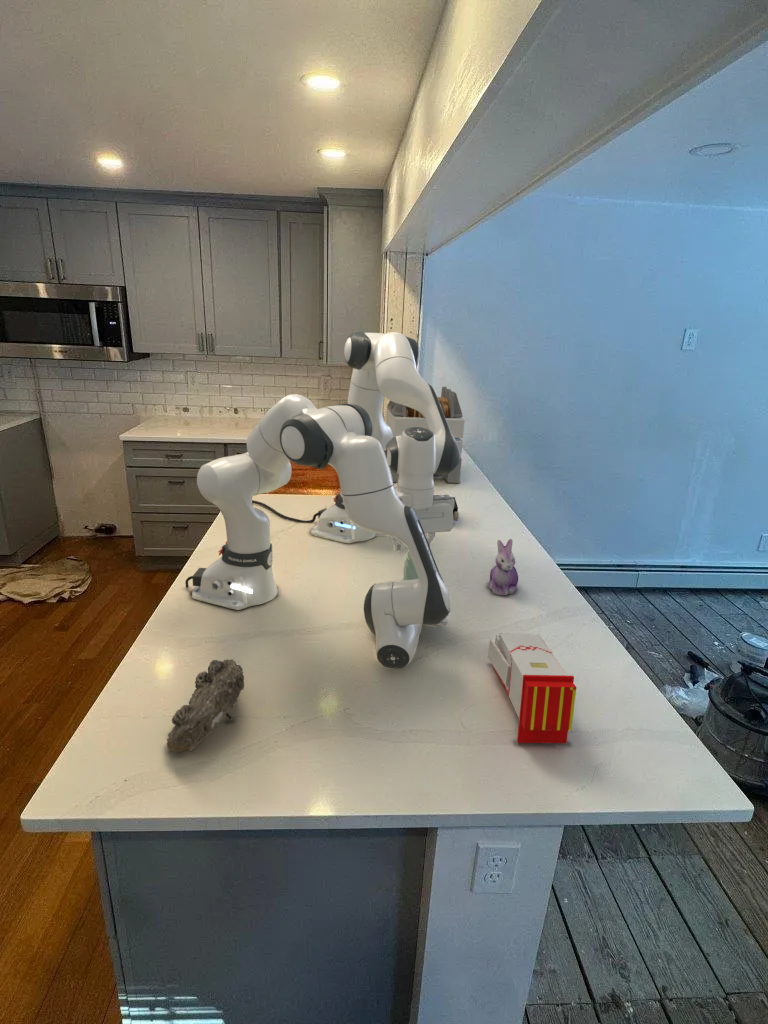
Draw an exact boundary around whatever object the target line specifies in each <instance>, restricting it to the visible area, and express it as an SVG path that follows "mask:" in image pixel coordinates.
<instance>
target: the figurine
mask: <svg viewBox="0 0 768 1024" xmlns="http://www.w3.org/2000/svg"><path fill="white" fill-rule="evenodd" d="M496 542H497V543H496V545H497V555H496V557H495V564H496V565H494V566H493V567H492V568H491V569H490V573H489V581H488V587H489V589H490V590H491V591H492V593H493V594H495V595H499V596H507V595H509V594H513V593H514V592H515V591H516V590H517V587H518V583H519V574H518V571H517V568H516V567H515V565H516V559H515V555H514V554H513V551H512V549H513V543H514V542H513V539H512V538H509V539H508V540H507V542H506V544H505V545H504V544H503V541H502V540H501V539H498V540H497V541H496Z"/></svg>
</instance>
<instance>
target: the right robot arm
mask: <svg viewBox="0 0 768 1024" xmlns="http://www.w3.org/2000/svg"><path fill="white" fill-rule="evenodd" d="M343 353H344V360H345V363H346V364H347V366H348V367H349V368H352V373H351V378H350V383H349V389H348V395H347V396H348V397H347V404H354V405H358V406H360V407H362V408H363V409H365V410H366V411H367V413H368V414H369V416H370V418H371V421H372V426H373V431H372V436H371V437H373V438H375V439H377V440H378V441H379V442H380V443H381V445H382V448H383V450H384V451H385V450H386V458H387V461H388V464H389V467H390V470H392V471H393V472H394V473H398V474H399V479H398V482H396V486H394V488H395V491H396V493H397V495H398V497H399V499H400V500H401V501H402V502H403V504H404V505H405V506H408V507H411V508H412V509H413V510H414V511H415V513H416V515H417V517H418V519H419V521H420V523H421V526H422V528H423V531H424V533H425V534H427V536H426V538H427V541H428V544H429V546H430V547H431V543H432V541H433V540H434V539H435V537H436V533H449V532H451V531H452V530H453V529H454V524H453V523H454V520H453V509H454V503H455V501H454V499H453V497H454V496H451V495H450V494H439V495H438V494H435V493H434V492H435V480H434V475H439V476H440V475H441V476H443V475H448V474H449V473H450V472H452V471H453V470H454V469H455V468H456V467H457V465H458V464H459V460H460V452H459V447H458V444H457V442H456V440H455V438H454V437H453V435H452V433H451V431H450V429H449V426H448V424H447V421H446V418H445V416H444V413H443V411H442V408H441V405H440V403H439V400H438V398H437V397H438V395H437V393H436V391H435V389H434V387H433V386H432V385H431V384H429V382H428V383H427V382H426V380H425V379H424V378H422V376H421V374H420V373H419V371H418V368H417V366H418V365H419V360H420V346H419V343H418V342H417V340H416V339H414V338H412V337H409V336H406V335H404V334H403V333H401V332H397V331H390V332H384V333H382V332H364V331H354V332H352V333H350V335H348V337H347V338H346V341H345V343H344V349H343ZM384 398H386V399H387V400H388V401H392V402H394V403H397V404H401V405H405V406H408V407H410V408H413V409H415V410H417V411H419V412H420V413H421V414H422V415H423V416H424V417H425V419H426V422H427V425H428V428H429V430H428V429H425V428H421V427H411V428H407V429H405V430H404V431H403V433H402V435H400V436H396V437H393V434H392V431H391V429H390V427H389V426H388V425H387V423H386V420H385V419H384V416H383V403H384ZM339 489H340V490H339V491H338V492H337V494H336V495H335V496H334V497H333V502H334V504H333V505H331V506H329V507H328V508H323V509H320V510H318V511H317V512H316V513H314V514H313V516H312V519H310V520H302V519H299V518H294V517H290V516H287V515H284V514H282V513H280V512H278V511H277V510H276V509H274V508H273V507H271V506H269V505H268V504H266V503H264V502H261V501H259V500H258V501H257V500H254V499H252V504H256V505H260V506H262V507H264V508H266V509H267V510H269V511H271V512H272V513H273V514H275V515H276V516H277V517H278V516H279V517H281V518H283V519H285V520H288V521H292V522H296V523H302V524H303V523H305V524H311V523H314V522H315V521H316V519H317V518H318V521H317V523H315V524H314V525H313V526H312V528H311V530H310V533H311V536H315V537H319V538H323V539H326V540H330V541H336V542H339V543H343V544H352V543H357V542H365V541H368V540H372V539H373V538H375V537H376V536H377V537H388V536H387V535H384V534H379V533H374V532H370V531H367V530H365V529H363V528H361V527H359V526H357V525H356V524H355V523H353V522H352V521H351V519H350V518H349V517H348V515H347V512H346V510H345V506H344V502H343V498H342V493H341V488H339ZM449 498H451V499H449ZM316 517H317V518H316ZM389 538H390V539H391V541H392V543H393V546H392V547H393V548H392V549H393V551H394V552H400V551H402V543H401V541H397V539H396V538H393V537H391V536H389Z"/></svg>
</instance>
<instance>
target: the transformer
mask: <svg viewBox="0 0 768 1024" xmlns="http://www.w3.org/2000/svg"><path fill="white" fill-rule="evenodd" d="M440 393H441V394H440V396H437V398H438V400H439V403H440V405H441V408H442V411H443V413H444V416H445V418H446V421H447V424H448V426H449V429H450V431H451V433H452V435H453V437H454V438H455V440H456V442H457V444H458V447H459V452H460V460H459V464H458V465H457V467H456V468H455V469H454V470H453V471H452V472H450V473H449V474H448V475H442V476H443V478H444V479H445V481H446V482H447V483H449V484H455V483H456V484H459V483H461V472H462V461H463V460H462V453H463V442H464V441H463V440H462V439H463V438H464V431H465V430H464V429H465V419H464V418H463V411H462V408H461V405H460V402H459V398H458V395H457V392H455V391H453V390H452V389H451V388H447V386H442V387H441V392H440ZM388 401H389V402H388V404H387V405H386V413H385V414H386V415H385V423H386V424H387V425H388V426H389V427H390V429H391V431H392V434H393V437H396V436H400V435H402V433H403V431H404V430H405V429H407V428H411V427H421V428H425V429H428V430H429V428H428V425H427V422H426V419H425V417H424V416H423V415H422V414H421V413H420V412H419V411H417V410H415V409H413V408H410V407H408V406H405V405H401V404H397V403H394V402H392V401H390V400H388ZM384 453H385V455H386V450H385V451H384ZM390 471H391V475H392V479H393V483H398V479H399V474H398V473H394V472H393V471H392V470H390Z"/></svg>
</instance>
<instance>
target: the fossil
mask: <svg viewBox="0 0 768 1024" xmlns="http://www.w3.org/2000/svg"><path fill="white" fill-rule="evenodd" d="M243 670H244V669H243V667H242V665H240V664H237V662H236V661H235V660H234V659H232V658H231V659H227V658H226V659H224V660H223V661H222V660H217V659H212V660H211V661H210V663H209V665H208V666H207V671H201V672H199V673H198V674H197V675H196V676H195V680H194V684H195V685H194V687H195V689H194V690H193V693H192V694H191V697H190V698H189V700H188V704H184V705H182V706H181V707H180V709H177V710H176V711H175V713H174V715H173V716H172V718H171V723H172V724H173V727H172V730H171V731H170V732H168V734H167V738H166V741H167V742H166V745H167V749H168V750H169V751H173V752H174V753H176V754H178V753H182V752H188V751H189V752H192V751H193V750H195V748H196V747H197V746H199V744H200V743H201V742H203V741H204V740H205V739H206V738H207V737H208V736H209V735H210V734H211V733H212V732H214V730H215V729H217V727H218V726H219V724H220V722H221V721H222V720H223V719H224V718H225V716H226V717H227V719H229V720H233V717H232V715H230V714H229V710H230V709H231V708H234V706H235V704H236V703H237V702H238V699H239V697H240V695H241V693H242V691H243V690H245V689H244V688H245V675H244V671H243Z"/></svg>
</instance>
